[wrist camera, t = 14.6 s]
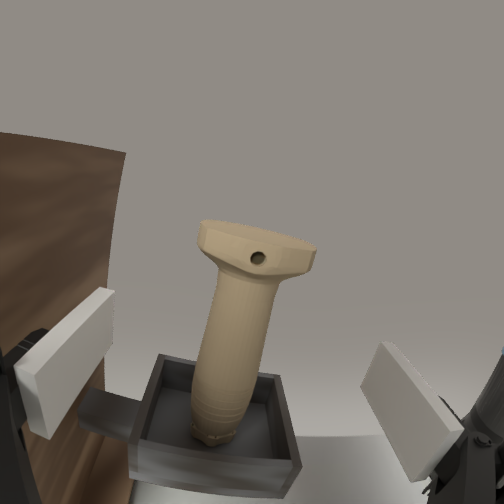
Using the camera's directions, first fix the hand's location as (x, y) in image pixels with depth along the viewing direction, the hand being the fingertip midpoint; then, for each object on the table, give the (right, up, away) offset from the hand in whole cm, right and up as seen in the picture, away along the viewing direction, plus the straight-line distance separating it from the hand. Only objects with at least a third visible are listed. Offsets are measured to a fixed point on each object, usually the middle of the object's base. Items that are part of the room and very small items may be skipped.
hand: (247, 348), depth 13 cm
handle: (-3, -9, +7) cm, 12 cm away
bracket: (-8, -19, +5) cm, 21 cm away
